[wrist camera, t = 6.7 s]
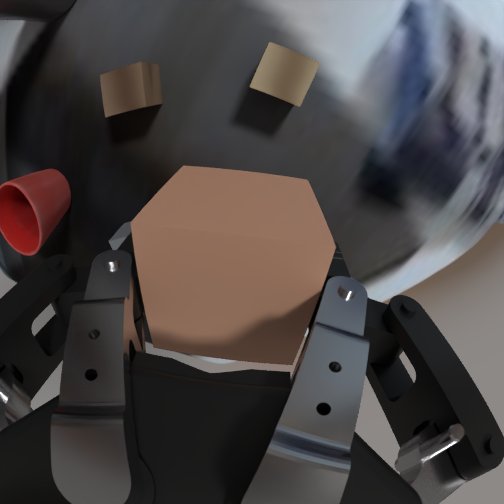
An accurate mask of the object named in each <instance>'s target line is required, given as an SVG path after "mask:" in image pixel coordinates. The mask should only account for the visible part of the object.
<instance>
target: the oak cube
mask: <svg viewBox="0 0 504 504" xmlns="http://www.w3.org/2000/svg"><path fill="white" fill-rule="evenodd" d="M319 65H320V62H317V61H315V60H313V59H311V58H309V57H306V56H304V55H302V54H299V53H297V52H295V51H292V50H290V49H287V48H285V47H282V46H280V45H277V44H274V43H271V42H270V43H269V45H268V47H267V49H266V51H265V53H264V55H263V57H262V60H261V62H260V64H259V66H258V68H257V71H256V73H255V75H254V77H253V80H252V82H251V84H250V87H251V88H253V89H256V90H259V91H261V92H264V93H267V94H269V95H272V96H274V97H277V98H279V99H282V100H284V101H286V102H289V103H291V104H293V105H296V106H299V107H300V106H301V103H302V101H303V99H304V97H305V95H306V93H307V91H308V88H309V86H310V84H311V82H312V80H313V78H314V76H315V74H316V71H317V69H318V67H319Z"/></svg>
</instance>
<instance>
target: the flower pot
mask: <svg viewBox="0 0 504 504" xmlns="http://www.w3.org/2000/svg"><path fill="white" fill-rule="evenodd" d="M70 203H71V191H70V187H69V184H68V182H67V180H66V178H65V177H64V176H63V175H62V174H61V173H60V172H59V171H57V170H55V169H46V170H42V171H38V172H35V173H31V174H28V175H25V176H22V177H19V178H16V179H13V180H11V181H8V182H5V183H4V184H2V185H1V186H0V231H1V233H2V234H3V236H4V238H5V239H6V241H7V242H8V243H9V244H10V245H11V246H12V247H13V248H14V249H15V250H16V251H18V252H19V253H21V254H24V255H28V256H31V255H34V254H36V253H37V252H38V251H39V250H40V248H41V247H42V245H43V244H44V243H45V241H46V240H47V238H48V237H49V235H50V234H51V232H52V231H53V230H54V228H55V227H56V226H57V224H58V223H59V221H60V220H61V218H62V217H63V215H64V214H65V213H66V211H67V210H68V208H69V206H70Z"/></svg>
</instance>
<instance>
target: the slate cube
mask: <svg viewBox="0 0 504 504" xmlns="http://www.w3.org/2000/svg"><path fill="white" fill-rule="evenodd" d="M131 222H132V221H131ZM131 222H127V223H124V224H123V225H122V226H121V228H120V229H119V230H118V231H117V232H116V233H115V235H114V236H113V237H112V238H111V239H110V240H109V243H110V245H111V247H112V249H113V250H117V249H118V248H119V246H120V245H121V244H122V242H123V241H124V240H125V239H126V237H127V236H128V235H129V234H130V232H131V231H132V230H131Z"/></svg>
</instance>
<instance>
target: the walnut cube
mask: <svg viewBox="0 0 504 504" xmlns="http://www.w3.org/2000/svg"><path fill="white" fill-rule="evenodd" d="M100 80H101V89H102V97H103V104H104V111H105V117H109V116H112V115H116V114H120V113H124V112H128V111H132V110H136V109H140V108H145V107H149V106H154V105H158V104H163V100H162V92H161V83H160V73H159V65H158V64H153V63H147V62H138V63H134V64H131V65H128V66H125V67H122V68H119V69H116V70H113V71H110V72H107V73H104V74H102V75H100Z"/></svg>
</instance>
